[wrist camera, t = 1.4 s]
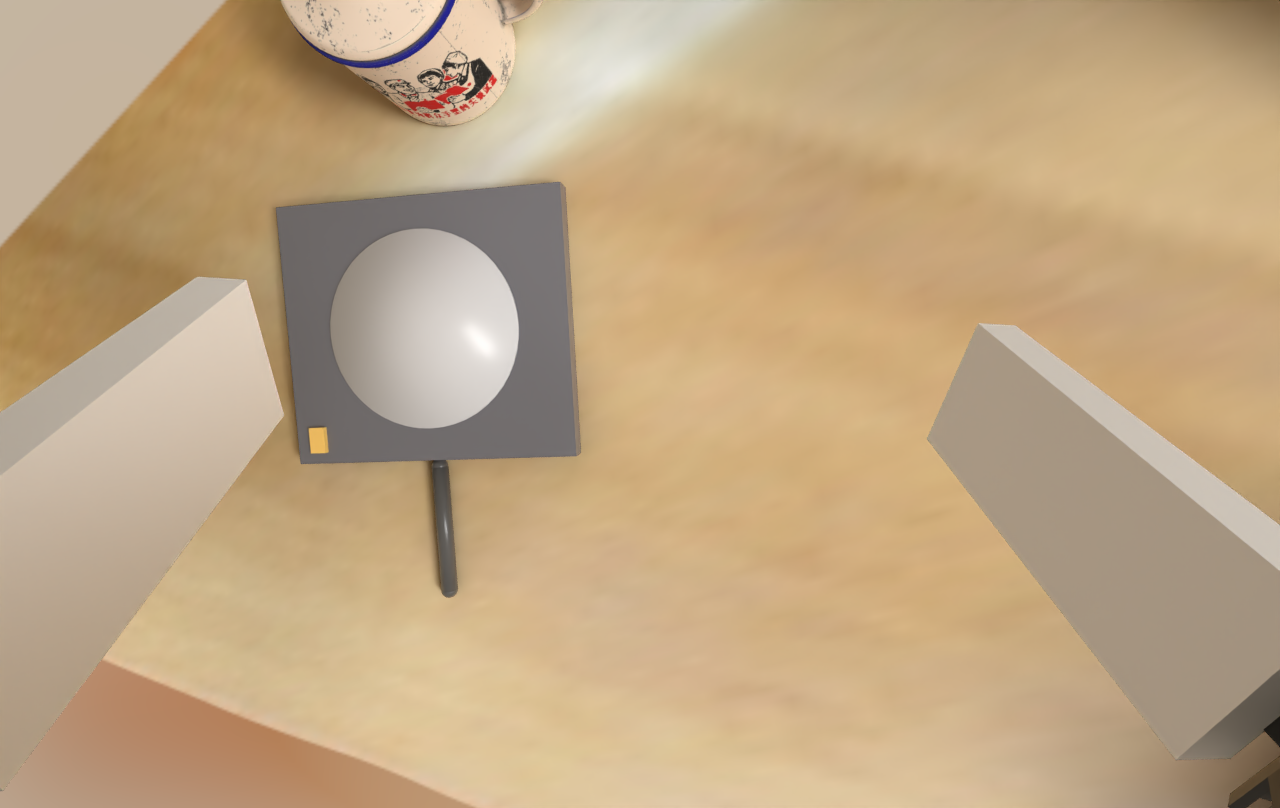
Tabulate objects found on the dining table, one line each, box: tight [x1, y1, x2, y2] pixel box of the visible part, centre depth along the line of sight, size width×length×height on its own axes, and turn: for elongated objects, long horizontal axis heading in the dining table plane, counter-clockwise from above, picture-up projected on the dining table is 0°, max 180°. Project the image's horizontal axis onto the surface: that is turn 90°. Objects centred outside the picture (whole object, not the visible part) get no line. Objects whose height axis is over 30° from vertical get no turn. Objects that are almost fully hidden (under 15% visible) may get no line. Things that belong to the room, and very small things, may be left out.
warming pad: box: [276, 182, 581, 598], centre depth 37 cm, size 25×18×2 cm
